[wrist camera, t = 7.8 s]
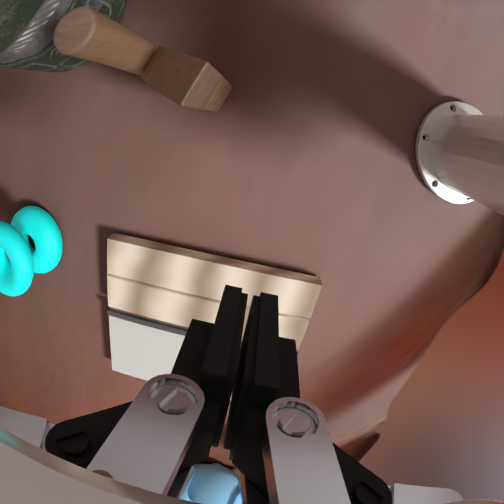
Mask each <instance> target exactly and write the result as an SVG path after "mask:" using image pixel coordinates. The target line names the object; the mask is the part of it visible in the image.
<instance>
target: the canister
mask: <svg viewBox="0 0 504 504" xmlns="http://www.w3.org/2000/svg"><path fill="white" fill-rule="evenodd" d="M125 4H126V0H0V67H4V68H17V69H27V70H37V71H47V72H64V71H68V70H71V69H74V68H76V67H78V66H80V65H82V64H84V63H85V62H86V61H88V60H84V59H80V58H76V57H72V56H68V55H64V54H61V53H60V52H58V51H57V49H56V47H55V46H54V42H53V35H54V30H55V28H56V25H57V23H58V22H59V21H60V19H61V18H62V17H63V16H64V15H65V14H66V13H67V12H69V11H70V10H72V9H74V8H78V7H89V8H91V9H93V10H95V11H97V12H99V13H101V14H103V15H104V16H106V17H108V18H110V19H112V20H114V21H115V22H117V23H119V22H120V19H121V17H122V16H123V13H124V9H125Z"/></svg>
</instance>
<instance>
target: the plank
mask: <svg viewBox="0 0 504 504" xmlns="http://www.w3.org/2000/svg"><path fill="white" fill-rule="evenodd" d="M225 285H230V286H235V287H239V288H242V293H246V294H248V299H247V305H246V312H245V319H244V326H243V333H242V339H243V335H244V331H245V327H246V323H247V319H248V315H249V311H250V306H251V302H252V298H253V295H255V296H260V293H261V292H263V293H268V294H273V295H278V310H279V337H283V338H288V339H294V340H295V341H296V350H299V347H300V344H301V342H302V339H303V337H304V334H305V331H306V329H307V326H308V323H309V321H310V318H311V315H312V312H313V310H314V307H315V304H316V301H317V298H318V296H319V293H320V290H321V287H322V283H321V279H320V277H316V276H311V275H307V274H302V273H297V272H292V271H288V270H283V269H278V268H274V267H269V266H264V265H259V264H255V263H250V262H245V261H241V260H236V259H231V258H227V257H222V256H218V255H213V254H208V253H204V252H199V251H195V250H190V249H185V248H181V247H176V246H172V245H167V244H163V243H158V242H154V241H149V240H145V239H140V238H136V237H131V236H127V235H122V234H118V233H113V234H112V235H111V236H110V237H108V238H107V289H108V306H109V307H113V308H116V309H120V310H123V311H127V312H130V313H134V314H137V315H141V316H145V317H149V318H152V319H156V320H160V321H164V322H168V323H172V324H176V325H180V326H184V327H188V328H189V325H190V322H191V320H192V319H196V320H201V321H205V322H209V323H215V319H216V316H217V312H218V309H219V305H220V302H221V298H222V295H223V291H224V288H225Z"/></svg>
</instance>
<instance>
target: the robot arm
mask: <svg viewBox="0 0 504 504" xmlns="http://www.w3.org/2000/svg"><path fill="white" fill-rule="evenodd" d="M450 107H451V109H450ZM423 135H424V139H423ZM415 151H416V161H417V166H418V169H419V172H420V175H421V177H422V179H423V181H424V182H425V184H426V186H427V187H428V188H429V189H430V190H431V191H432V192H433V193H434V194H435V195H436V196H438V197H439V198H441V199H443V200H445V201H447V202H450V203H453V204H467V203H470V202H472V201H476V202H478V203H480V204H482V205H484V206H486V207H488V208H490V209H492V210H494V211H496V212H498V213H500V214H502V215H504V116H495V115H483V114H482V113H481V112H480V111H479V110H478V109H477V108H475V107H474V106H472V105H470V104H467V103H465V102H458V101H452V102H446V103H442V104H440V105H438V106H436V107H434V108H433V109H432V110H431V111H430V112H428V114H427V115H426V116H425V118H424V119H423V121H422V123H421V125H420V127H419V130H418V134H417V137H416V146H415ZM432 182H433V184H432ZM247 299H248V294H246V293H242V288H239V287H235V286H230V285H225V288H224V291H223V295H222V298H221V302H220V305H219V309H218V312H217V316H216V319H215V323H209V322H205V321H201V320H196V319H192V320H191V322H190V325H189V328H188V330H187V333H186V335H185V338H184V340H183V343H182V346H181V348H180V351H179V353H178V356H177V359H176V361H175V364H174V366H173V369H172V372H171V374H163V375H157V376H155V377H153V378H151V379H150V380H149V381H148V382H147V383H146V384H145V385H144V386H143V387H142V389H141V390H140V392H139V393H138V395H137V396H136V397H135V399H134V400H133V401H131V402H128V403H125V404H122V405H119V406H115V407H112V408H109V409H105V410H102V411H99V412H95V413H92V414H88V415H85V416H81V417H77V418H74V419H70V420H66V421H63V422H60V423H58V424H56V425H55V424H51V423H49V422H48V419H44V418H40V417H36V416H33V415H29V414H25V413H22V412H18V411H15V410H11V409H8V408H5V407H2V406H0V504H201V503H196V502H191V501H187V500H182V499H180V497H181V495H182V493H183V491H184V488H185V486H186V484H187V481H188V479H189V477H190V474H191V472H192V470H193V465H195V464H197V463H199V462H201V461H203V460H205V459H207V458H208V456H209V452H210V448H211V446H213V447H218V444H219V441H220V437H221V433H222V429H223V426H224V422H225V418H226V414H227V410H228V406H229V403H230V399H231V403H230V409H229V416H228V422H227V429H226V435H225V442H224V449H229V450H230V457H229V460H232V463H233V464H234V465H235V466H236V467H237V468H238V469H239V470H240V471H241V475H240V483H241V495H242V504H504V502H500V501H493V500H466V501H464V500H463V498H462V497H461V495H460V494H459V493H457V492H456V491H454V490H452V489H448V488H434V487H423V486H413V485H404V484H396V483H395V484H393V485H392V486H387V484H386V483H385V482H384V481H383V480H382V479H380V478H379V477H378V476H376V475H375V474H374V473H372V472H371V471H369V470H368V469H367V468H365V467H364V466H363V465H361V464H360V463H359V462H357V461H356V460H355V459H353V458H352V457H351V456H350V455H348V454H347V453H346V452H344V451H343V450H342V449H340V448H339V447H338V446H337V445H335V444H334V443H333V442H332V440H331V437H330V434H329V431H328V427H327V424H326V421H325V418H324V416H323V414H322V412H321V411H320V410H319V409H318V408H317V407H316V406H315V405H313V404H312V403H310V402H309V401H306V400H304V399H301V398H300V390H299V376H298V363H297V350H296V341H295V340H294V339H288V338H283V337H279V310H278V295H273V294H268V293H263V292H261V293H260V296H255V295H253V298H252V302H251V306H250V311H249V315H248V319H247V323H246V327H245V331H244V335H243V339H242V333H243V326H244V319H245V312H246V305H247ZM241 339H242V343H241ZM240 346H241V347H240ZM231 395H232V396H231Z"/></svg>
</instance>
